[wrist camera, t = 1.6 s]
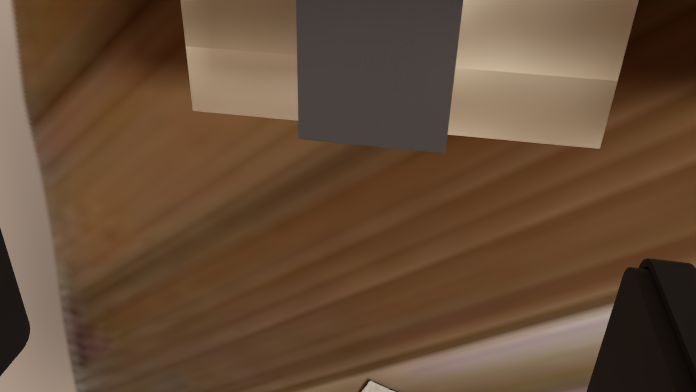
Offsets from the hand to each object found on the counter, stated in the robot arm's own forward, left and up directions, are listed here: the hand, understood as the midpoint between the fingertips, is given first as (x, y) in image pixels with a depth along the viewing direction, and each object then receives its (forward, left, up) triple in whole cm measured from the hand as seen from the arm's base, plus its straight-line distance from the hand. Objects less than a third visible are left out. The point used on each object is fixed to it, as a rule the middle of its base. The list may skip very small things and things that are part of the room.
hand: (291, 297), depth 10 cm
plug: (0, 0, -21) cm, 21 cm away
